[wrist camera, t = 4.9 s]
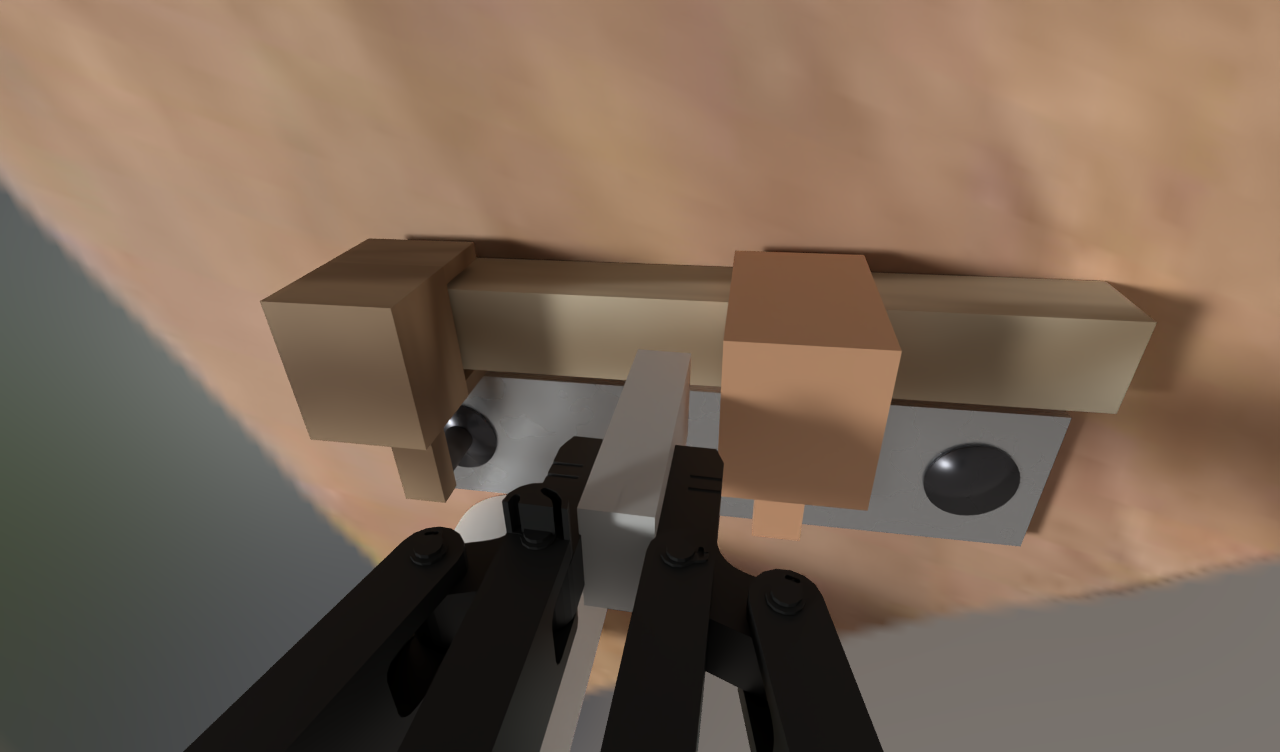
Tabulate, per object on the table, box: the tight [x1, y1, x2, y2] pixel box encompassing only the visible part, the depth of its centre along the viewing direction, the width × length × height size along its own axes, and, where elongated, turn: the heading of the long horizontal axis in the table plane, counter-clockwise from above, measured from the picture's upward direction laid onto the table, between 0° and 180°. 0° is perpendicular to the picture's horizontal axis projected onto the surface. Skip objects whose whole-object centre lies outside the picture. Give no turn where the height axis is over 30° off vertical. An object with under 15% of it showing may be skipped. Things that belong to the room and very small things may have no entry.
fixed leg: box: [260, 239, 487, 503], centre depth 22 cm, size 9×4×6 cm, turn 1°
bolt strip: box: [444, 371, 1071, 546], centre depth 25 cm, size 6×25×1 cm, turn 91°
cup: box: [455, 495, 607, 752], centre depth 24 cm, size 8×8×16 cm
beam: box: [447, 258, 1157, 414], centre depth 21 cm, size 3×25×3 cm, turn 91°
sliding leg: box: [718, 251, 902, 541], centre depth 19 cm, size 9×4×6 cm, turn 1°
